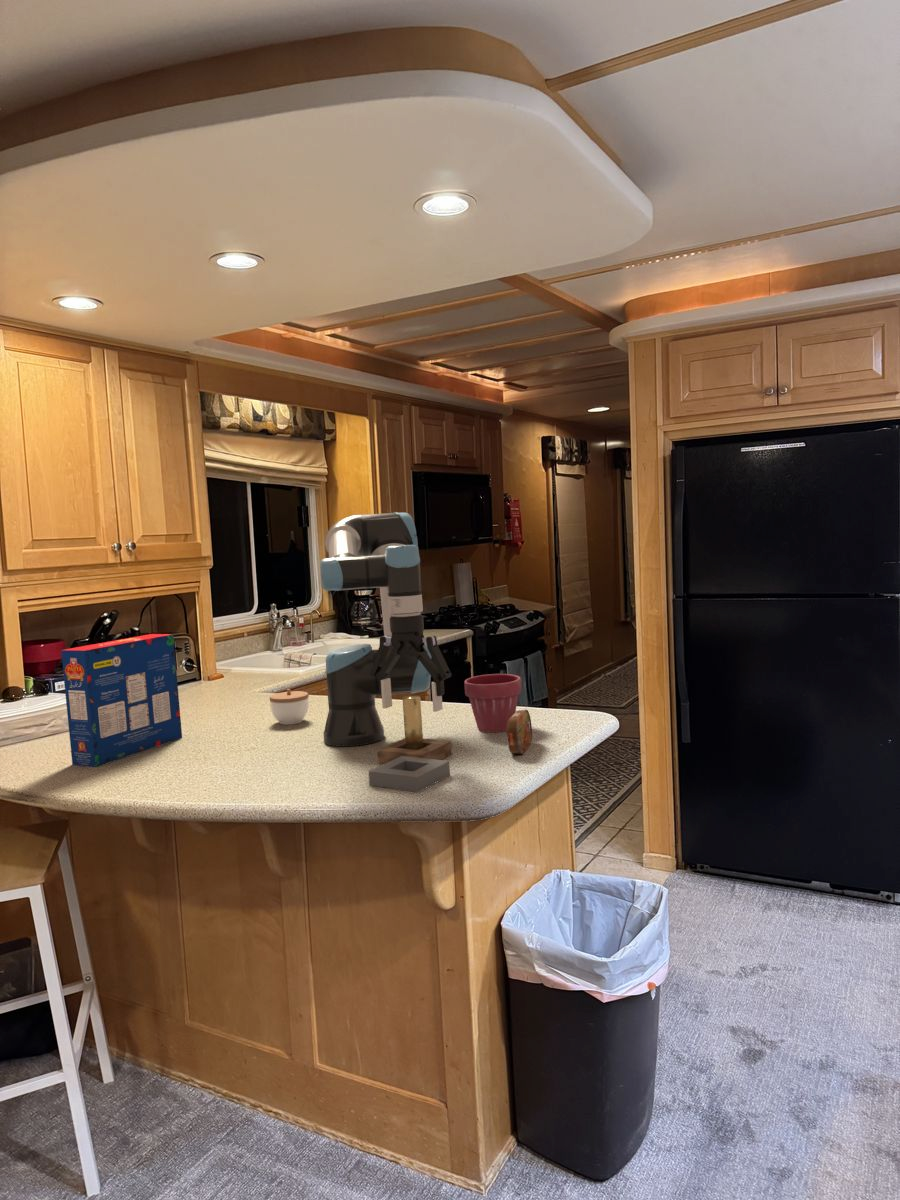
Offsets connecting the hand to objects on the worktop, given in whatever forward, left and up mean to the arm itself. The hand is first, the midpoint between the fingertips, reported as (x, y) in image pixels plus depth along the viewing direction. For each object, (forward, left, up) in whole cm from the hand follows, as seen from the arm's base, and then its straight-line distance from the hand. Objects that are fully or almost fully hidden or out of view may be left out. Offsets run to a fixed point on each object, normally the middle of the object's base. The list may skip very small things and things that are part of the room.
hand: (412, 709), depth 185 cm
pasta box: (-75, -18, -12) cm, 78 cm away
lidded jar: (-55, +20, -12) cm, 60 cm away
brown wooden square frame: (0, 0, -12) cm, 12 cm away
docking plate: (+8, -14, -12) cm, 20 cm away
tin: (+19, +15, -12) cm, 27 cm away
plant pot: (+4, +31, -12) cm, 34 cm away
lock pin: (0, 0, -12) cm, 12 cm away
